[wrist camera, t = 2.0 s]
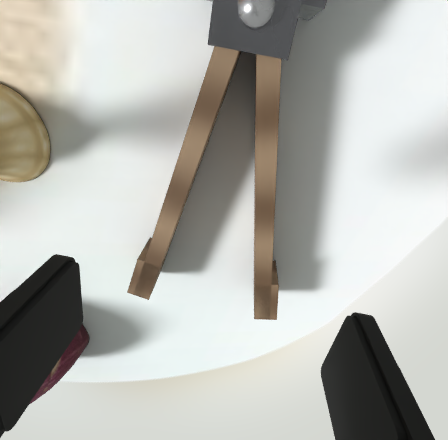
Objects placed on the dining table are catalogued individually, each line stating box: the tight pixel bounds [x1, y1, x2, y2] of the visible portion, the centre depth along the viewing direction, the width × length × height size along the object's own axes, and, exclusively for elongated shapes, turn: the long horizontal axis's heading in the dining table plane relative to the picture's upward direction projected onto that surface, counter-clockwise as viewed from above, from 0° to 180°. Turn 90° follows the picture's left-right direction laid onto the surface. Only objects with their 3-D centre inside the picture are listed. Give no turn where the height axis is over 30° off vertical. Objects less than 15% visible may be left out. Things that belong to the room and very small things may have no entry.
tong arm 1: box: [254, 54, 281, 320], centre depth 23 cm, size 22×2×4 cm, turn 2°
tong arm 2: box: [127, 46, 241, 300], centre depth 23 cm, size 22×2×4 cm, turn 158°
